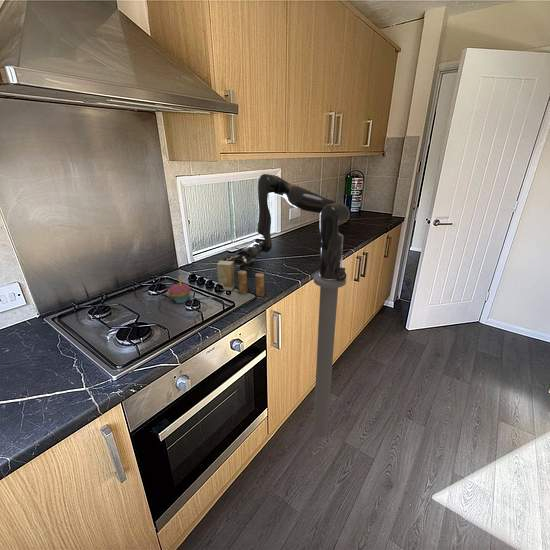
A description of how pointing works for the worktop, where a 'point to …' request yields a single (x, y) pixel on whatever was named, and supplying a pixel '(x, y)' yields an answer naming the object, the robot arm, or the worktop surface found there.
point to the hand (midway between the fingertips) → (231, 266)
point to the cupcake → (179, 292)
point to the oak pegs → (258, 278)
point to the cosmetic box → (226, 274)
